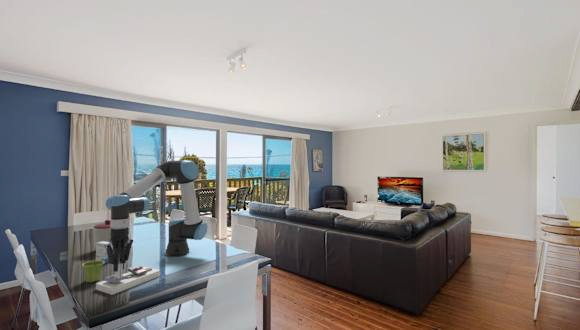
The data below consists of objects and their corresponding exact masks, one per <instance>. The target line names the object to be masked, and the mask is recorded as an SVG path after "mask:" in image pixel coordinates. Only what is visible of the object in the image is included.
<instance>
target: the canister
mask: <svg viewBox="0 0 580 330" xmlns="http://www.w3.org/2000/svg"><path fill="white" fill-rule="evenodd" d="M91 229H92V230H93V231H92V232H93V240H94V246H95V249H96V243H97V242H102V241H105V242H110V239H111V236H110V232H111V229H112V228H111V219H105V221H104V222H102V223H98V224H95V225H94V226H92V227H91Z"/></svg>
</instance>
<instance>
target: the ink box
mask: <svg viewBox="0 0 580 330" xmlns="http://www.w3.org/2000/svg"><path fill="white" fill-rule="evenodd" d="M108 243H109V242H105V241H102V242H97V243H96V248H95V261H104V264H108V263H109V260H108V255H107V250H106V248H105V247H104V245H105V244H108ZM112 250H113V246H112ZM113 251H114V250H113Z"/></svg>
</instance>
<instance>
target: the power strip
mask: <svg viewBox="0 0 580 330" xmlns="http://www.w3.org/2000/svg"><path fill="white" fill-rule="evenodd" d="M142 268H144V269H145V270H147V273H145V274H143V275H140V276H137V275H133V273H131V272H129V271H128V272H126V273H122V276H125V279H124V280H121V281H118V282H116V283H110V282H108V281H104V280H102V281H98V282H96V283H95V287H96V288H95V290H96V291H98V292H103V293H104V294H108V295H111V296H113V295H116V294H118V293H121V292H123V291H126V290H128V289H130V288H134V287H135V286H138V285H141V284H143V283H146V282H148V281H151V280H153V279H155V278H158V277H161V270H160V269H156V268H152V267H148V266H143V267H142Z"/></svg>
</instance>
